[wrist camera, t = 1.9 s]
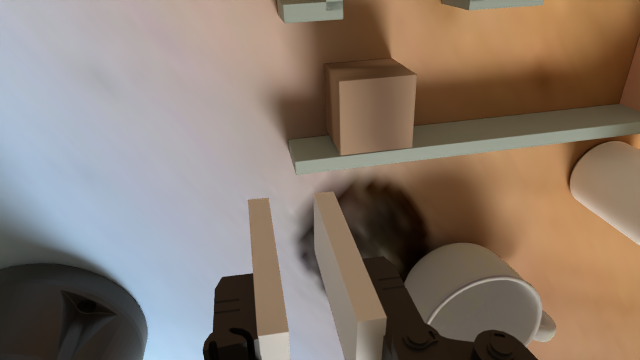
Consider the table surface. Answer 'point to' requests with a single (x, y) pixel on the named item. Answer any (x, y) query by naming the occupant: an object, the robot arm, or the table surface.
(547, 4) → the table surface
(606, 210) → the can
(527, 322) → the teacup
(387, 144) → the block
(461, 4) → the box
